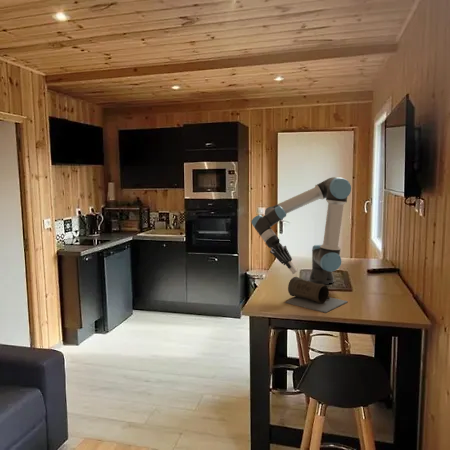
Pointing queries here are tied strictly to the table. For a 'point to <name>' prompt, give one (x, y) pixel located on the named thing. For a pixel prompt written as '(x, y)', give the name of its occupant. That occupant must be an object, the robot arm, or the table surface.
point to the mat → (317, 304)
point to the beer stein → (308, 290)
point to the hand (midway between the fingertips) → (295, 272)
